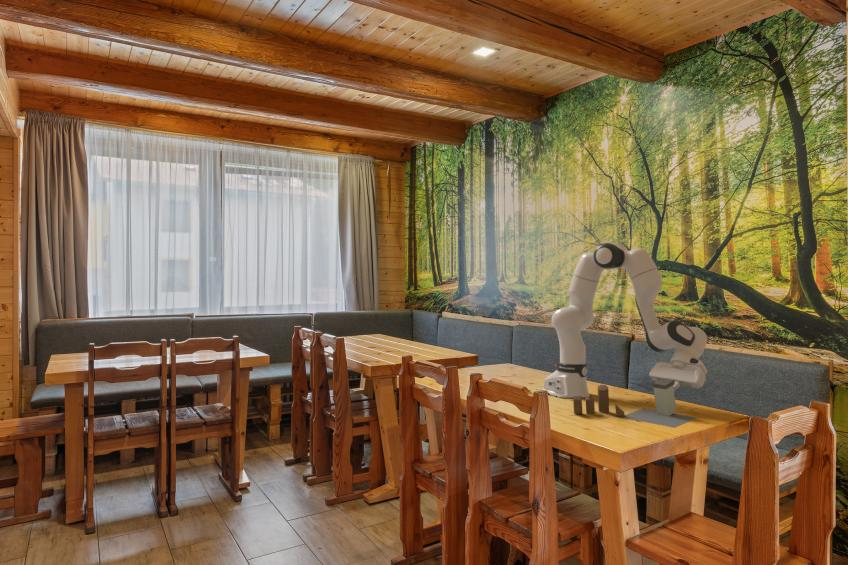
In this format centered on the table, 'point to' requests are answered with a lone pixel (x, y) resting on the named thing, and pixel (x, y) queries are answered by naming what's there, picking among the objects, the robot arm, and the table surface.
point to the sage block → (664, 397)
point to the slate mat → (658, 418)
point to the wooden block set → (602, 403)
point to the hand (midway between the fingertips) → (668, 391)
